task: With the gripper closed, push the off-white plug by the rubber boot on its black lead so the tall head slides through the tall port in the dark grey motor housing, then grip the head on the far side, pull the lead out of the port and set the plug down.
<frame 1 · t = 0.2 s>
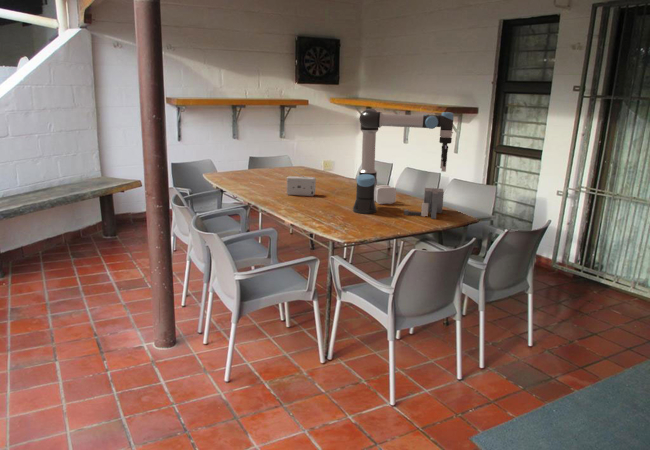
hand: (442, 169, 341), 28 cm above the table, tool pointing down, fingers open, 13 cm apart
plug: (424, 215, 335), on the table
cable organizer: (382, 202, 370), on the table
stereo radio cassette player: (300, 195, 389), on the table
housing: (433, 215, 336), on the table
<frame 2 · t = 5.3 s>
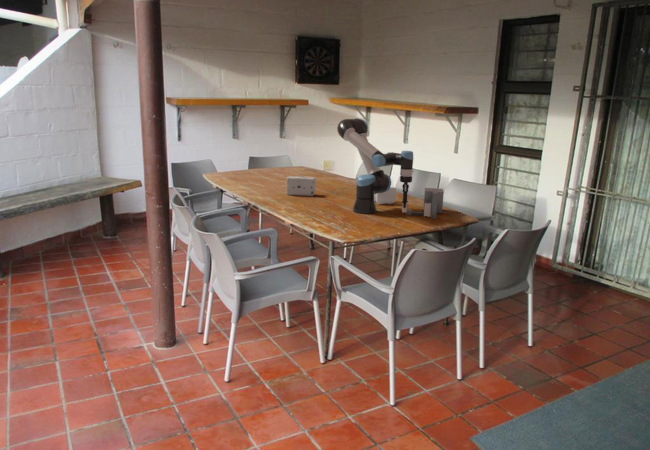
hand: (404, 212, 336), 2 cm above the table, tool pointing down, fingers closed
plug: (427, 215, 335), on the table, touching gripper
everything else where it was.
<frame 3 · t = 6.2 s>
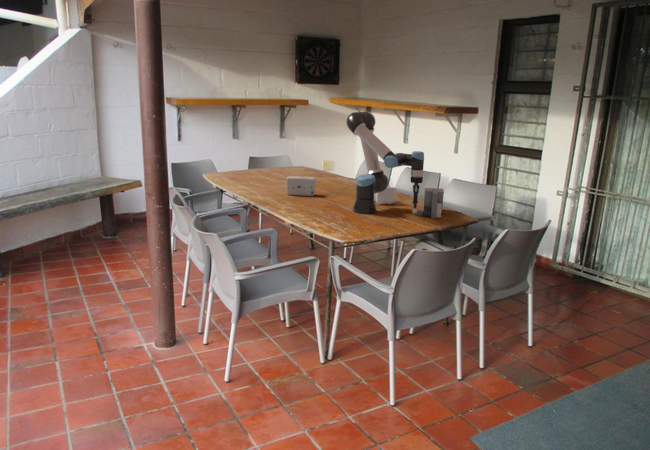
hand: (414, 212, 335), 2 cm above the table, tool pointing down, fingers closed
plug: (437, 216, 334), on the table, touching gripper
everything else where it was.
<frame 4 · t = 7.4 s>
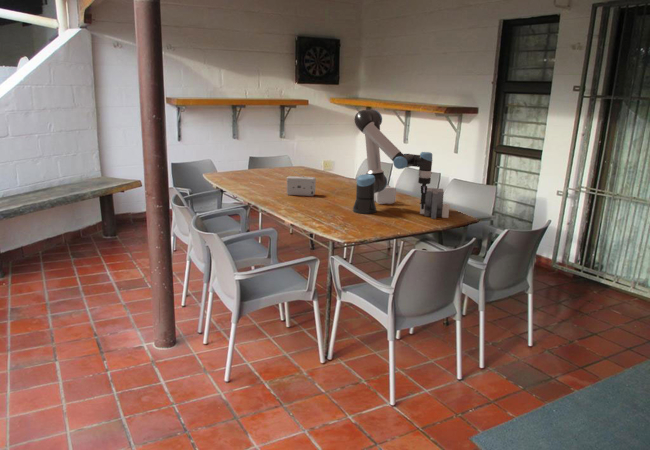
hand: (422, 213, 335), 1 cm above the table, tool pointing down, fingers closed
plug: (445, 216, 333), on the table, touching gripper
everything else where it was.
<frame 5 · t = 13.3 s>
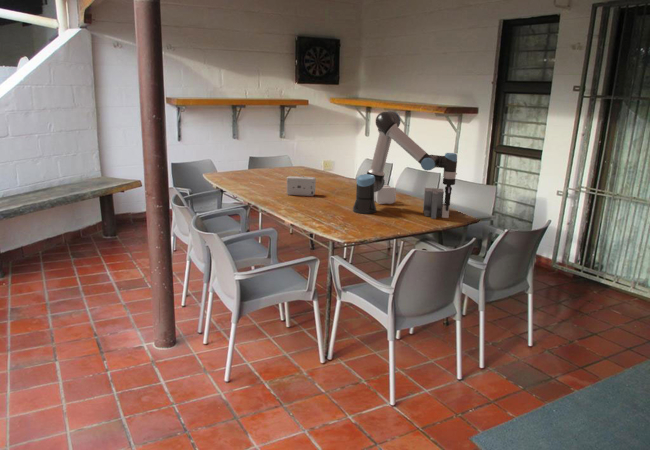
hand: (446, 214, 333), 2 cm above the table, tool pointing down, fingers closed on plug, 4 cm apart
plug: (445, 216, 333), on the table, touching gripper
everything else where it was.
when the fingers open (2 cm above the table, at t = 16.1 s): plug stays where it is, on the table.
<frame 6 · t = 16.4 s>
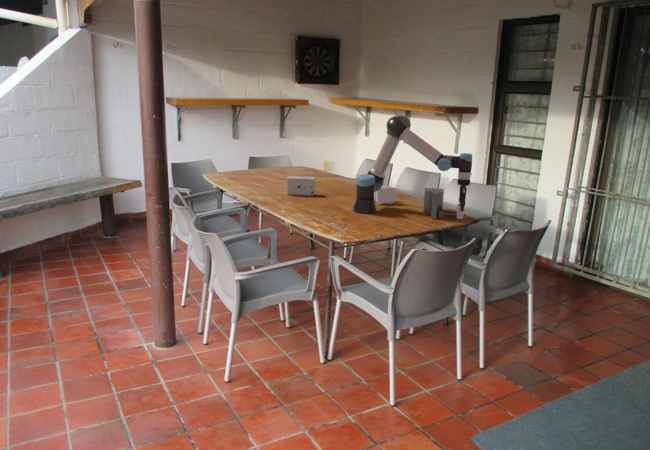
hand: (460, 214, 331), 2 cm above the table, tool pointing down, fingers open, 8 cm apart
plug: (459, 217, 332), on the table
everything else where it was.
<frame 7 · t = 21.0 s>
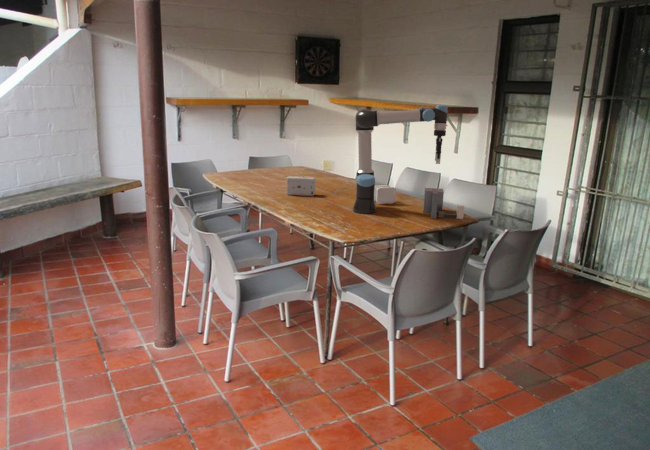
hand: (437, 162, 345), 32 cm above the table, tool pointing down, fingers open, 13 cm apart
nothing on the table moved.
at the end: plug inside the target area (1.0 cm from its centre), on the table; plug touching table; the gripper is holding nothing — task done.
